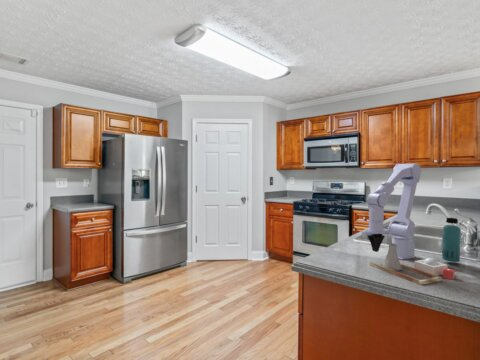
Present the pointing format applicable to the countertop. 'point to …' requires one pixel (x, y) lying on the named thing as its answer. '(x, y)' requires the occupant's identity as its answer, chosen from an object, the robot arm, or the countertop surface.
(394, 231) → the robot arm
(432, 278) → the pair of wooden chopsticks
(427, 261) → the dome
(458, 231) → the beverage bottle
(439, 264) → the dome housing
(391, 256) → the flask
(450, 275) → the red die
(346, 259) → the countertop surface
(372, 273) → the countertop surface
